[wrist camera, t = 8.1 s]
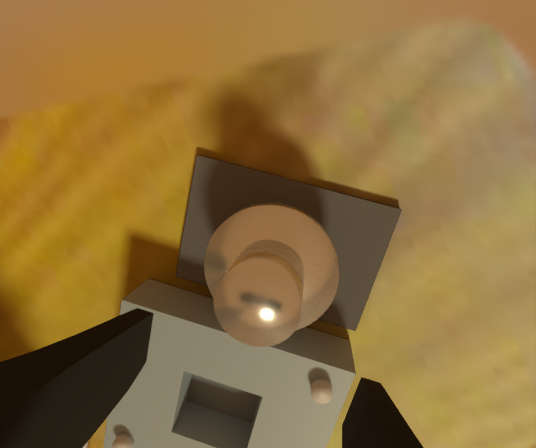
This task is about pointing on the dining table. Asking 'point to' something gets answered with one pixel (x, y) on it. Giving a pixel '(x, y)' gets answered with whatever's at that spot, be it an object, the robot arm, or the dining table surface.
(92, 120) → the dining table surface
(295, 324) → the end cap
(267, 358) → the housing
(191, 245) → the mat
